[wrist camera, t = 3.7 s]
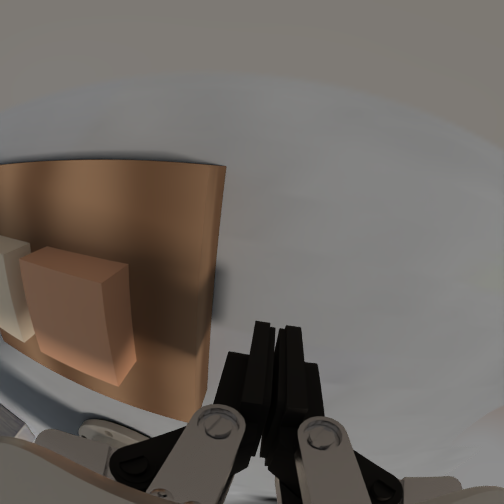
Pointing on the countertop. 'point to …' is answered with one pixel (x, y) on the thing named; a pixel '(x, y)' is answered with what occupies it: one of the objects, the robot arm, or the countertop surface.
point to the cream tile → (13, 290)
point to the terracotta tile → (81, 311)
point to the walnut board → (131, 261)
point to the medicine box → (14, 426)
